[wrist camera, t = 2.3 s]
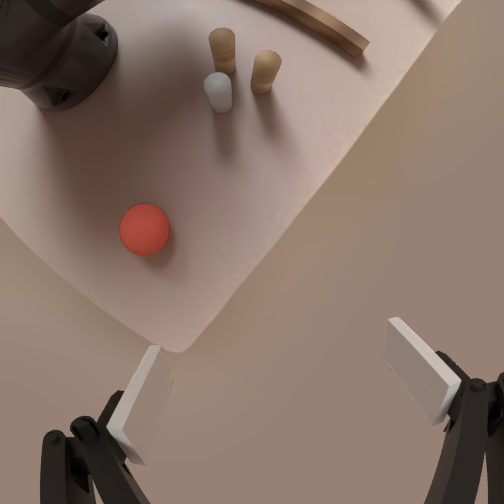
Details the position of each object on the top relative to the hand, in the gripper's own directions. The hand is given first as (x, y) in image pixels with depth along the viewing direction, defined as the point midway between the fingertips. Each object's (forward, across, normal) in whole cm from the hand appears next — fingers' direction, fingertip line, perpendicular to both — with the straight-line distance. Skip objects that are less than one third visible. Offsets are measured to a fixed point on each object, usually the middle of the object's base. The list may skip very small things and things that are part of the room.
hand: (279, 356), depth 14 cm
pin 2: (+19, +2, +22) cm, 29 cm away
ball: (+17, -13, +6) cm, 22 cm away
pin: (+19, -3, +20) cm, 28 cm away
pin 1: (+19, -2, +25) cm, 31 cm away
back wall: (+18, +8, +33) cm, 39 cm away
